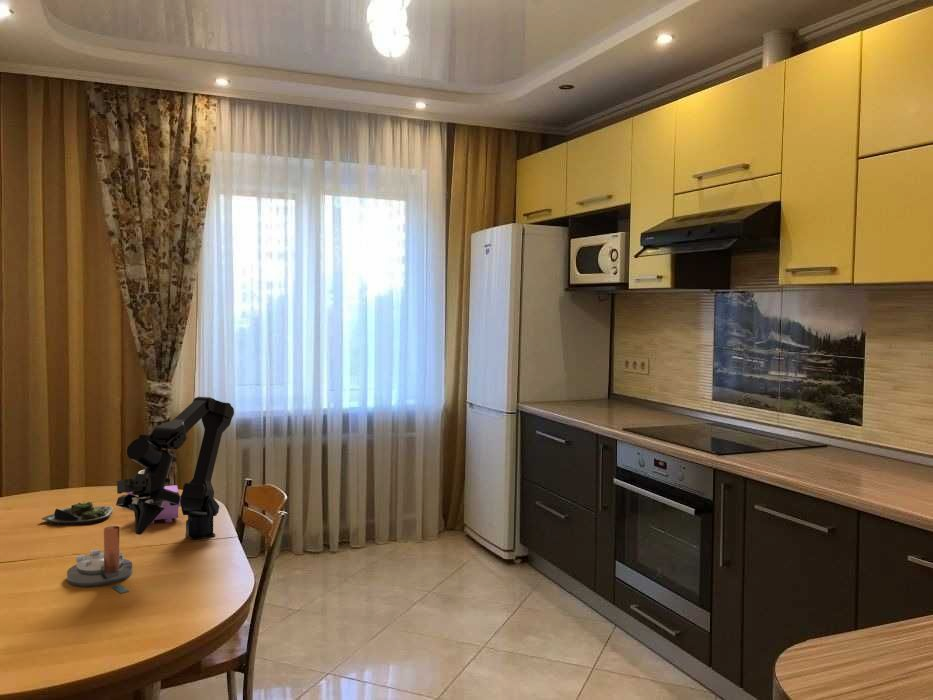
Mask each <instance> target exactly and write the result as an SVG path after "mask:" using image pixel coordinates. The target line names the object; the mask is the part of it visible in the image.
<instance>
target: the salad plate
mask: <svg viewBox="0 0 933 700" xmlns="http://www.w3.org/2000/svg"><path fill="white" fill-rule="evenodd" d="M113 510H114V508H113V507H112V506H109V505H100V506H99V505H97V506H95V505H94V504H93V502H90V501H88V502H86V501H83V502H78V503H75V504H71V505H70V507H66V508H60V509H59V508H56V509H55V510H54V513H53V514H50V515H46V516H44V517H41V520H42V521H45V522H48V523H50V524H51V525H53V526H65V525H69V526H83V525H84V526H86V525H93V524H98V523H102V522H104V521H106V520H107V519H108V518H109V517H110V516H111V514H112V513H113Z"/></svg>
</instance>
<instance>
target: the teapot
mask: <svg viewBox="0 0 933 700" xmlns="http://www.w3.org/2000/svg"><path fill="white" fill-rule="evenodd" d="M164 489H167V490H170V491H173V492H176V493H179V489H178V485H176V484H175V485H165V487H164ZM124 493H125V494H126V495H127V494H131V495H133V494H132V492H124ZM162 508H164V510H163V511H161V512H160V513H159V515H158V516H157V517H156V518H155V519H154V520H153V521H152V522H151V523H150V525H153V524H154V523H155V521H157V520H164V521H165V523H172V522H174V520H173V519H178V518H179V508H181V505H180V503H179V505H177V506H171V505H170V502H166V501H165V502H163V505H162Z"/></svg>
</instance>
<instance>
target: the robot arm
mask: <svg viewBox="0 0 933 700" xmlns="http://www.w3.org/2000/svg"><path fill="white" fill-rule="evenodd" d="M234 415H235V409H234V407H233V406H232V404H231V403H229V402H224V401H220V400H217V399H215V398H212V397H210V396H197V397H194V398H193V401H192V402H191V403H190V404H188V406H187V407H186V408H185V409H183V410H182V412H180V413H179V414H178V415H177V416H176V417H174V418H173V419H172V420H170V421H165V422H163V423H161V424H159V425H157V426H156V427H155V428H153V430H152V431H151V433H149V434H142V433H140V434H139V436H138V438H136V439H134V440H132V442H130V444H129V445H128V446H127V449H126V455H127V457H128V458H129V459H130V460H132V461H134V462H135V463H136V464H139V465H140V466H141V467H143V468H144V470H145V471H144V474H138V473H136V474H133V475H131V476H132V477H131V478H126V479H125V478H124V479H121V480H120V479H119V480H116V493H117V494H119V495H120V494H123V493H125V492H132V494H133V495H131V494H127V493H126V494H123V495H121V496H119V497H118V498H117V500H116V503H115V505H116V506H117V507H120V508H122V509H123V508H124V509H127V510H130V511H133V513H134V526H135V527H134V529H135V530H134V531H135V535H139V536H140V535H142V534H143V533H144V532H145V531H146V530H147V528H148V527H149V525H151V524H150V523H151V522H152V521H153V520H154V519H155V518H156V517H157V516H158V515H159V513H160V512H161V511H163V510H164V508H162V505H163V502H165V501H166V502H170V505H171V506H177V505H179V503H180V505H181V506H180V508H181V512H182V516H187V519H186V520H185V535H186V536H187V537H188V538H190V539H191V540H192V541H197V540H201V539H206V538H213V537H216V533H214V517H216V516H217V515H218V514H219V511H220V510H219V509H220V504H219V503H218V502H217V501H216V499H215V498H214V496H215V490H214V488H213V485H212V478H213V473H214V469H215V465H216V461H217V457H218V452H219V448H220V444H221V439H222V436H223V433H224V432H225V431H226V430H227V429H228V428H229V426H230V425H231V423H232V419H233V417H234ZM200 420H201V422H202V423H201V424H202V426H203V428H204V432H203V436H202V441H201V445H200V449H199V452H198V457H197V461H196V464H195V469H194V473H193V477H192V479H191V480H190V481H189V482H185V483H184V484H183V486H182V492H181V495H180V493H179V492H178V493H176V492H173V491H170V490H167V489H164V487H165V486H166V485H167V484H170V482H171V478H168V477H169V473H170V470H171V466H172V463H177V462H178V461H177V457H176V456H175V454H174V451H167V450H175V451H176V450H179V449H180V448H181V447H183V445H184V443H185V442H186V441H187V440H188V439H187V438H188V435H187V434H188V432H189V431H190V430H191V429H192V428H193V427H194V426H195V425H197V424H198V422H199V421H200ZM117 494H116V495H117Z"/></svg>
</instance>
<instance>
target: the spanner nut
mask: <svg viewBox="0 0 933 700" xmlns="http://www.w3.org/2000/svg"><path fill="white" fill-rule="evenodd" d="M124 557H125V553H124V552H120V526H118V525H117V526H116V525H110V526H106V527H104V528H103V551H101V550H100V548H97V549H91V550H89V553H88V554H78V555H77V556H76V557H75V562H76V564H77V571H78V572H79V573H82V574H103V575H104V576H105V577H106V578H112V577H117V576H119V568H121V567H122V566H123V559H124Z"/></svg>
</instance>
